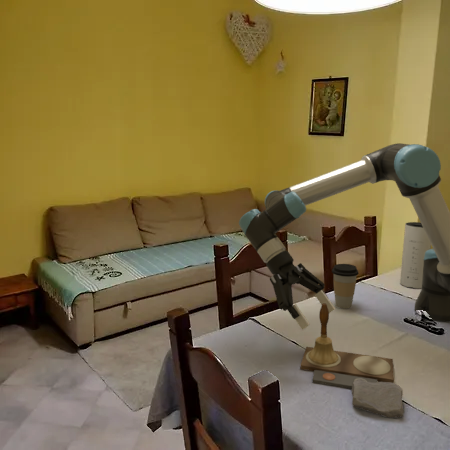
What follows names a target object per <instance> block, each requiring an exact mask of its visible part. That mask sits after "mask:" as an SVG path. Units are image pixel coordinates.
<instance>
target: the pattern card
mask: <svg viewBox="0 0 450 450" xmlns="http://www.w3.org/2000/svg"><path fill="white" fill-rule="evenodd" d="M357 379H362V380H364V381H366V382H371V383H377V382H378V381H377V379H370V378H364V377H358V376H351V375H345V374H339V373H332V372H326V371H319V370H315V371H313V376H312V379H311V382H312V383H315V384H321V385H326V386H332V387H337V388H344V389H348V390H349V389H350V390H352V384H353V382H354V381H355V380H357Z"/></svg>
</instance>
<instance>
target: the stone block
mask: <svg viewBox="0 0 450 450" xmlns="http://www.w3.org/2000/svg"><path fill="white" fill-rule="evenodd" d="M403 391H404V390H403V388H402V387H401V386H400V385H398V384H397V383H391V382H378V381H377V383H371V382H366V381H364V380H362V379H357V380H355V381H354V382H353V384H352V389H351V394H352V402H351V403H352V407H354V408H356V409H360V410H363V411H366V412H369V413H373V414H375V415H378V416H383V417H385V418H403V416H404V413H405V411H404V406H403V395H404V394H403V393H404V392H403Z"/></svg>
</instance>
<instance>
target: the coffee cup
mask: <svg viewBox="0 0 450 450" xmlns="http://www.w3.org/2000/svg"><path fill="white" fill-rule="evenodd" d="M331 274H333V279H332V280H333V293H334V294H333V295H334V304H335V308H338V309H343V310H347V309H348V310H349V309H350V308H352V307H353V301H354V295H355V290H356V284H357V276H358V275H359V269H357V266H356V265H354V264H350V263H338V264H335V265H333V267H332V269H331Z"/></svg>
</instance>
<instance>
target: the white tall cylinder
mask: <svg viewBox="0 0 450 450" xmlns="http://www.w3.org/2000/svg"><path fill="white" fill-rule="evenodd" d="M431 247H432V245H431V243H430V241H429V239H428V237H427V234H426V232H425V230H424V228H423V226H422V224H421V222H420V221H418V222H417V221H410V222H409V221H408V222H405V224H404V235H403V244H402V248H403V249H402V257H401V266H400V267H401V268H400V279H399V284H400V285H401V286H403V287H405V288H409V289H413V290H414V289H415V290H416V289H417V290H421V289H422V278H423V266H424V256H425V252H426V251H427V250H430V249H432V248H431Z"/></svg>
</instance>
